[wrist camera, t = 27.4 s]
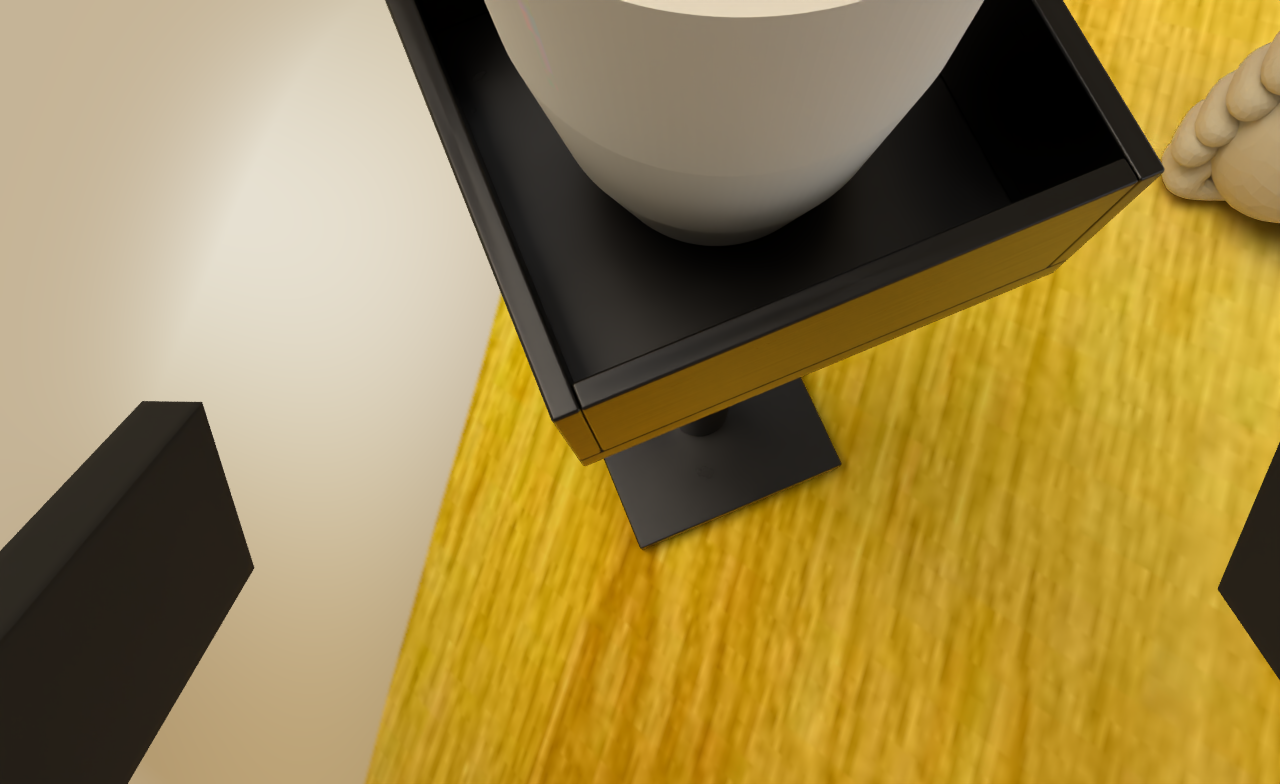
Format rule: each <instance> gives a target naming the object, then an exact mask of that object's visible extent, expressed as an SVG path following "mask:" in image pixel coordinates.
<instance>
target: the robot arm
mask: <svg viewBox="0 0 1280 784" xmlns="http://www.w3.org/2000/svg"><path fill="white" fill-rule="evenodd" d="M253 569H254V565H253V562H252V559H251V556H250V553H249V550H248V547H247V543H246V540H245V537H244V534H243V531H242V528H241V524H240V521H239V518H238V515H237V512H236V508H235V505H234V502H233V499H232V496H231V492H230V489H229V486H228V483H227V480H226V477H225V473H224V470H223V467H222V464H221V461H220V458H219V455H218V451H217V448H216V445H215V442H214V438H213V435H212V432H211V429H210V426H209V423H208V420H207V416H206V413H205V410H204V407H203V404H202V402H159V401H142V402H141V403H140V404H139V405H138V407H136V408H135V410H134V411H133V412H132V413H131V414H130V415H129V416H128V417H127V418H126V419H125V420H124V421H123V422H122V423H121V424H120V425H119V426H118V427H117V428H116V430H115V431H114V432H113V433H112V434H111V435H110V436H109V437H108V438H107V439H106V440H105V441H104V442H103V443H102V444H101V445H100V446H99V447H98V449H97V450H96V451H95V452H94V453H93V454H92V455H91V456H90V457H89V458H88V459H87V460H86V461H85V462H84V463H83V464H82V465H81V466H80V468H79V469H78V470H77V471H76V472H75V473H74V474H73V475H72V476H71V477H70V478H69V479H68V480H67V481H66V482H65V483H64V484H63V485H62V487H61V488H60V489H59V490H58V491H57V492H56V493H55V494H54V495H53V496H52V497H51V498H50V499H49V500H48V501H47V502H46V503H45V504H44V505H43V507H42V508H41V509H40V510H39V511H38V512H37V513H36V514H35V515H34V516H33V517H32V518H31V519H30V520H29V521H28V522H27V523H26V524H25V526H24V527H23V528H22V529H21V530H20V531H19V532H18V533H17V534H16V535H15V536H14V537H13V538H12V539H11V540H10V541H9V542H8V543H7V544H6V545H5V547H4V548H3V549H2V550H1V551H0V784H128V782H129V781H130V779H131V777H132V775H133V774H134V772H135V770H136V768H137V767H138V765H139V764H140V762H141V760H142V758H143V757H144V755H145V753H146V752H147V750H148V748H149V746H150V745H151V743H152V741H153V740H154V738H155V736H156V735H157V733H158V731H159V729H160V728H161V726H162V724H163V723H164V721H165V719H166V717H167V716H168V714H169V712H170V711H171V709H172V707H173V705H174V704H175V702H176V700H177V699H178V697H179V695H180V693H181V692H182V690H183V688H184V687H185V685H186V683H187V682H188V680H189V678H190V677H191V675H192V673H193V672H194V670H195V668H196V666H197V665H198V663H199V661H200V660H201V658H202V656H203V654H204V653H205V651H206V649H207V648H208V646H209V644H210V642H211V641H212V639H213V637H214V636H215V634H216V632H217V631H218V629H219V627H220V625H221V624H222V622H223V620H224V619H225V617H226V615H227V614H228V612H229V610H230V609H231V607H232V605H233V603H234V602H235V600H236V598H237V597H238V595H239V593H240V592H241V590H242V588H243V586H244V584H245V583H246V581H247V580H248V578H249V576H250V574H251V573H252V571H253ZM1218 591H1219V592H1220V593H1221V595H1222V596H1223V598H1224V599H1225V601H1226V602H1227V604H1228V605H1229V607H1230V608H1231V610H1232V611H1233V612H1234V614H1235V615H1236V617H1237V618H1238V620H1239V621H1240V623H1241V624H1242V626H1243V627H1244V629H1245V630H1246V631H1247V633H1248V634H1249V636H1250V637H1251V639H1252V640H1253V642H1254V643H1255V645H1256V646H1257V648H1258V649H1259V650H1260V652H1261V653H1262V655H1263V656H1264V658H1265V659H1266V661H1267V662H1268V664H1269V665H1270V667H1271V668H1272V670H1273V671H1274V672H1275V674H1276V675H1277V677H1278V678H1279V680H1280V443H1279V445H1278V448H1277V450H1276V452H1275V455H1274V457H1273V459H1272V462H1271V464H1270V466H1269V469H1268V471H1267V473H1266V476H1265V478H1264V481H1263V483H1262V485H1261V488H1260V490H1259V492H1258V495H1257V497H1256V499H1255V502H1254V504H1253V506H1252V509H1251V511H1250V514H1249V516H1248V518H1247V521H1246V523H1245V525H1244V528H1243V530H1242V532H1241V535H1240V537H1239V539H1238V542H1237V544H1236V546H1235V549H1234V551H1233V554H1232V556H1231V558H1230V561H1229V563H1228V565H1227V568H1226V570H1225V572H1224V575H1223V577H1222V579H1221V582H1220V584H1219V587H1218Z"/></svg>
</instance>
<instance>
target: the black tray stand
mask: <svg viewBox="0 0 1280 784" xmlns="http://www.w3.org/2000/svg"><path fill="white" fill-rule="evenodd" d="M385 1H386V4H387V6H388V9H389V11H390V14H391V16H392V19H393V21H394V24H395V26H396V29H397V31H398V34H399V37H400V39H401V41H402V44H403V47H404V49H405V52H406V54H407V57H408V59H409V62H410V64H411V67H412V69H413V72H414V74H415V77H416V79H417V82H418V85H419V87H420V89H421V92H422V95H423V97H424V100H425V102H426V105H427V107H428V110H429V112H430V115H431V117H432V120H433V122H434V125H435V127H436V130H437V132H438V135H439V137H440V140H441V143H442V145H443V147H444V150H445V153H446V155H447V158H448V160H449V163H450V165H451V168H452V170H453V173H454V175H455V178H456V180H457V183H458V185H459V188H460V190H461V193H462V195H463V198H464V201H465V203H466V205H467V208H468V211H469V213H470V216H471V218H472V221H473V223H474V226H475V228H476V231H477V233H478V236H479V238H480V241H481V243H482V246H483V248H484V251H485V253H486V256H487V259H488V261H489V264H490V266H491V269H492V271H493V274H494V276H495V279H496V281H497V284H498V286H499V289H500V291H501V294H502V296H503V299H504V301H505V304H506V307H507V309H508V312H509V314H510V317H511V319H512V322H513V324H514V327H515V329H516V332H517V334H518V337H519V339H520V342H521V344H522V347H523V349H524V352H525V354H526V357H527V359H528V362H529V365H530V367H531V370H532V372H533V375H534V377H535V380H536V382H537V385H538V387H539V390H540V392H541V395H542V397H543V400H544V402H545V405H546V407H547V410H548V412H549V415H550V418H551V420H552V421H553V423H554V424H555V426H556V427H557V429H558V430H559V432H560V433H561V434H562V436H563V437H564V439H565V440H566V442H567V443H568V445H569V446H570V447H571V449H572V450H573V452H574V453H575V455H576V456H577V458H578V459H579V460H580V462H581V463H582V465H583V466H587V465H589V464H592V463H594V462H597V461H599V460H601V459H604V460H605V463H606V465H607V468H608V470H609V473H610V475H611V478H612V480H613V483H614V485H615V487H616V490H617V492H618V495H619V497H620V500H621V502H622V505H623V507H624V510H625V512H626V515H627V517H628V519H629V522H630V524H631V527H632V529H633V532H634V534H635V537H636V539H637V542H638V544H639V546H640V548H641V550H643V549H646V548H648V547H650V546H653V545H655V544H657V543H660V542H662V541H665V540H667V539H669V538H672V537H674V536H677V535H679V534H681V533H684V532H686V531H688V530H691V529H693V528H696V527H698V526H700V525H703V524H705V523H707V522H710V521H712V520H715V519H717V518H719V517H722V516H724V515H727V514H729V513H731V512H734V511H736V510H738V509H741V508H743V507H746V506H748V505H750V504H753V503H755V502H758V501H760V500H762V499H765V498H767V497H769V496H772V495H774V494H777V493H779V492H781V491H784V490H786V489H788V488H791V487H793V486H796V485H798V484H800V483H803V482H805V481H808V480H810V479H812V478H815V477H817V476H819V475H822V474H824V473H827V472H829V471H831V470H834V469H836V468H838V467H839V466H840V465H841V461H840V459H839V457H838V455H837V453H836V451H835V449H834V446H833V444H832V442H831V440H830V438H829V436H828V434H827V432H826V429H825V427H824V425H823V423H822V421H821V419H820V417H819V415H818V412H817V410H816V408H815V406H814V404H813V402H812V400H811V398H810V395H809V393H808V391H807V389H806V387H805V385H804V383H803V381H802V378H801V377H802V376H804V375H807V374H809V373H812V372H814V371H816V370H819V369H821V368H824V367H826V366H829V365H831V364H833V363H836V362H838V361H841V360H843V359H845V358H848V357H850V356H853V355H855V354H858V353H860V352H862V351H865V350H867V349H870V348H872V347H874V346H877V345H879V344H882V343H884V342H887V341H889V340H891V339H894V338H896V337H899V336H901V335H903V334H906V333H908V332H911V331H913V330H916V329H918V328H920V327H923V326H925V325H928V324H930V323H932V322H935V321H937V320H940V319H942V318H945V317H947V316H949V315H952V314H954V313H957V312H959V311H961V310H964V309H966V308H969V307H971V306H974V305H976V304H978V303H981V302H983V301H986V300H988V299H990V298H993V297H995V296H998V295H1000V294H1003V293H1005V292H1007V291H1010V290H1012V289H1015V288H1017V287H1019V286H1022V285H1024V284H1027V283H1029V282H1032V281H1034V280H1036V279H1039V278H1041V277H1044V276H1046V275H1048V274H1051V273H1053V272H1054V271H1055V270H1056V269H1057V268H1059V267H1060V266H1061V265H1062V264H1063V263H1064V262H1065V261H1066V260H1067V259H1068V258H1070V257H1071V256H1072V255H1073V254H1074V253H1075V252H1076V251H1077V250H1078V249H1079V248H1081V247H1082V246H1083V245H1084V244H1085V243H1086V242H1087V241H1088V240H1089V239H1090V238H1092V237H1093V236H1094V235H1095V234H1096V233H1097V232H1098V231H1099V230H1100V229H1101V228H1103V227H1104V226H1105V225H1106V224H1107V223H1108V222H1109V221H1110V220H1111V219H1113V218H1114V217H1115V216H1116V215H1117V214H1118V213H1119V212H1120V211H1121V210H1122V209H1124V208H1125V207H1126V206H1127V205H1128V204H1129V203H1130V202H1131V201H1132V200H1133V199H1135V198H1136V197H1137V196H1138V195H1139V194H1140V193H1141V192H1142V191H1143V190H1144V189H1146V188H1147V187H1148V186H1149V185H1150V184H1151V183H1152V182H1153V181H1154V180H1155V179H1157V178H1158V177H1159V176H1160V175H1161V174H1162V173H1163V172H1164V171H1165V169H1164V166H1163V165H1162V163H1161V161H1160V160H1159V158H1158V156H1157V155H1156V153H1155V151H1154V150H1153V148H1152V147H1151V145H1150V143H1149V142H1148V140H1147V138H1146V137H1145V135H1144V133H1143V132H1142V130H1141V128H1140V127H1139V125H1138V123H1137V122H1136V120H1135V119H1134V117H1133V115H1132V114H1131V112H1130V110H1129V109H1128V107H1127V105H1126V104H1125V102H1124V100H1123V99H1122V97H1121V95H1120V94H1119V92H1118V91H1117V89H1116V87H1115V86H1114V84H1113V82H1112V81H1111V79H1110V77H1109V76H1108V74H1107V72H1106V71H1105V69H1104V67H1103V66H1102V64H1101V62H1100V61H1099V59H1098V58H1097V56H1096V54H1095V53H1094V51H1093V49H1092V48H1091V46H1090V44H1089V43H1088V41H1087V39H1086V38H1085V36H1084V34H1083V33H1082V31H1081V30H1080V28H1079V26H1078V25H1077V23H1076V21H1075V20H1074V18H1073V16H1072V15H1071V13H1070V11H1069V10H1068V8H1067V6H1066V5H1065V3H1064V2H1063V0H984V1H983V3H982V5H981V6H980V8H979V10H978V11H977V13H976V15H975V16H974V18H973V20H972V21H971V23H970V25H969V26H968V28H967V30H966V31H965V33H964V35H963V36H962V38H961V40H960V41H959V43H958V45H957V46H956V48H955V50H954V52H953V53H952V55H951V57H950V58H949V60H948V61H947V63H946V65H945V66H944V68H943V69H942V71H941V72H940V74H939V75H938V76H937V78H936V79H935V80H934V82H933V83H932V84H931V85H930V87H929V88H928V89H927V90H926V91H925V92H924V94H923V95H922V96H921V97H920V98H919V100H918V101H917V102H916V103H915V104H914V105H913V107H912V108H911V109H910V110H909V111H908V113H907V114H906V115H905V116H904V117H903V118H902V120H901V121H900V122H899V123H898V124H897V125H896V127H895V128H894V129H893V130H892V131H891V133H890V134H889V135H888V136H887V137H886V138H885V140H884V141H883V142H882V143H881V144H880V146H879V147H878V148H877V149H876V150H875V151H874V153H873V154H872V155H871V156H870V157H869V158H868V160H867V161H866V162H865V163H864V164H863V166H862V167H861V168H860V169H859V170H858V171H857V173H856V174H855V175H854V176H853V177H852V178H851V179H850V180H849V181H848V182H847V183H846V184H845V185H844V186H843V187H842V188H841V189H840V190H838V191H837V192H836V193H835V194H833V195H832V196H831V197H830V198H828V199H827V200H825V201H824V202H822V203H821V204H819V205H818V206H816V207H814V208H813V209H811V210H809V211H808V212H806V213H805V214H803V215H801V216H800V217H798V218H796V219H795V220H793V221H791V222H790V223H788V224H787V225H785V226H783V227H782V228H780V229H778V230H776V231H775V232H773V233H771V234H769V235H766V236H764V237H762V238H759V239H756V240H753V241H749V242H746V243H741V244H736V245H727V246H704V245H696V244H691V243H686V242H682V241H679V240H676V239H673V238H670V237H668V236H666V235H663V234H661V233H659V232H657V231H656V230H654V229H652V228H651V227H649V226H647V225H646V224H645V223H643V222H642V221H641V220H639V219H638V218H637V217H636V216H634V215H633V214H632V213H631V212H629V211H628V210H627V209H625V208H624V207H623V206H622V205H620V204H619V203H618V202H617V201H615V200H614V199H613V198H611V197H610V196H609V195H608V194H606V193H605V192H604V191H603V190H602V189H600V188H599V187H598V186H597V185H596V184H595V183H594V182H593V181H592V180H591V179H590V178H589V177H588V175H587V174H586V173H585V172H584V171H583V170H582V168H581V167H580V166H579V164H578V163H577V161H576V160H575V158H574V157H573V155H572V154H571V152H570V151H569V149H568V148H567V146H566V145H565V143H564V142H563V140H562V138H561V137H560V135H559V134H558V132H557V131H556V129H555V128H554V126H553V125H552V123H551V122H550V120H549V118H548V117H547V115H546V114H545V112H544V111H543V109H542V108H541V106H540V105H539V103H538V102H537V100H536V98H535V97H534V95H533V94H532V92H531V91H530V89H529V88H528V86H527V85H526V83H525V81H524V80H523V78H522V77H521V75H520V74H519V72H518V71H517V69H516V67H515V66H514V64H513V62H512V61H511V59H510V57H509V55H508V53H507V51H506V49H505V47H504V45H503V43H502V41H501V38H500V36H499V34H498V31H497V29H496V27H495V24H494V22H493V20H492V17H491V15H490V13H489V11H488V8H487V6H486V4H485V1H484V0H385Z"/></svg>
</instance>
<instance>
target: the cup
mask: <svg viewBox="0 0 1280 784" xmlns="http://www.w3.org/2000/svg"><path fill="white" fill-rule="evenodd" d="M484 1H485V4H486V6H487V8H488V11H489V13H490V15H491V17H492V20H493V22H494V24H495V27H496V29H497V31H498V34H499V36H500V38H501V41H502V43H503V45H504V47H505V49H506V51H507V53H508V55H509V57H510V59H511V61H512V62H513V64H514V66H515V67H516V69H517V71H518V72H519V74H520V75H521V77H522V78H523V80H524V81H525V83H526V85H527V86H528V88H529V89H530V91H531V92H532V94H533V95H534V97H535V98H536V100H537V102H538V103H539V105H540V106H541V108H542V109H543V111H544V112H545V114H546V115H547V117H548V118H549V120H550V122H551V123H552V125H553V126H554V128H555V129H556V131H557V132H558V134H559V135H560V137H561V138H562V140H563V142H564V143H565V145H566V146H567V148H568V149H569V151H570V152H571V154H572V155H573V157H574V158H575V160H576V161H577V163H578V164H579V166H580V167H581V168H582V170H583V171H584V172H585V173H586V174H587V175H588V177H589V178H590V179H591V180H592V181H593V182H594V183H595V184H596V185H597V186H598V187H599V188H600V189H602V190H603V191H604V192H605V193H606V194H608V195H609V196H610V197H611V198H613V199H614V200H615V201H617V202H618V203H619V204H620V205H622V206H623V207H624V208H625V209H627V210H628V211H629V212H631V213H632V214H633V215H634V216H636V217H637V218H638V219H639V220H641V221H642V222H643V223H645V224H646V225H647V226H649V227H651V228H652V229H654V230H656V231H657V232H659V233H661V234H663V235H666V236H668V237H670V238H673V239H676V240H679V241H682V242H686V243H691V244H696V245H704V246H727V245H736V244H741V243H746V242H749V241H753V240H756V239H759V238H762V237H764V236H766V235H769V234H771V233H773V232H775V231H776V230H778V229H780V228H782V227H783V226H785V225H787V224H788V223H790V222H791V221H793V220H795V219H796V218H798V217H800V216H801V215H803V214H805V213H806V212H808V211H809V210H811V209H813V208H814V207H816V206H818V205H819V204H821V203H822V202H824V201H825V200H827V199H828V198H830V197H831V196H832V195H833V194H835V193H836V192H837V191H838V190H840V189H841V188H842V187H843V186H844V185H845V184H846V183H847V182H848V181H849V180H850V179H851V178H852V177H853V176H854V175H855V174H856V173H857V171H858V170H859V169H860V168H861V167H862V166H863V164H864V163H865V162H866V161H867V160H868V158H869V157H870V156H871V155H872V154H873V153H874V151H875V150H876V149H877V148H878V147H879V146H880V144H881V143H882V142H883V141H884V140H885V138H886V137H887V136H888V135H889V134H890V133H891V131H892V130H893V129H894V128H895V127H896V125H897V124H898V123H899V122H900V121H901V120H902V118H903V117H904V116H905V115H906V114H907V113H908V111H909V110H910V109H911V108H912V107H913V105H914V104H915V103H916V102H917V101H918V100H919V98H920V97H921V96H922V95H923V94H924V92H925V91H926V90H927V89H928V88H929V87H930V85H931V84H932V83H933V82H934V80H935V79H936V78H937V76H938V75H939V74H940V72H941V71H942V69H943V68H944V66H945V65H946V63H947V61H948V60H949V58H950V57H951V55H952V53H953V52H954V50H955V48H956V46H957V45H958V43H959V41H960V40H961V38H962V36H963V35H964V33H965V31H966V30H967V28H968V26H969V25H970V23H971V21H972V20H973V18H974V16H975V15H976V13H977V11H978V10H979V8H980V6H981V5H982V3H983V1H984V0H484Z"/></svg>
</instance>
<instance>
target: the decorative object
mask: <svg viewBox="0 0 1280 784" xmlns="http://www.w3.org/2000/svg"><path fill="white" fill-rule="evenodd" d="M1162 165H1163V166H1164V169H1165V171H1164V172H1163V173H1162V178H1163V182H1164V184H1165V186H1166V188H1167V190H1169V191H1170V192H1171V193H1173V194H1174V195H1176V196H1179V197H1182V198H1186V199H1192V200H1220V201H1226V202H1227V203H1228V204H1229V205H1230V206H1231V207H1232V208H1234V209H1236V210H1237V211H1239V212H1241V213H1242V214H1245V215H1247V216H1249V217H1251V218H1254V219H1257V220H1261V221H1267V222H1275V223H1280V31H1279V32H1278V33H1277V35H1276V36H1275V38H1274V40H1273V42H1271V43H1268V44H1266V45H1264V46H1262V47H1260V48H1258V49H1256V50H1255V51H1253V52H1252V53H1250V54H1249V55H1248V56H1247V57H1246V58H1245V60H1244V61H1243V62H1242V63H1241V64H1240V65H1239V67H1238V69H1236V70H1235V71H1233V72H1231V73H1229V74H1227V75H1226V76H1224V77H1223V78H1221V79H1220V80H1219V81H1218V82H1217V83H1216V84H1215V85H1214V86H1213V87H1212V89H1211V90H1210V92H1209V93H1208V95H1207V97H1206V98H1205V99H1204V100H1201V101H1200V102H1198V103H1197V104H1196V105H1195V106H1194V107H1192V108H1191V109H1190V110H1189V112H1188V113H1187V114H1186V116H1185V117H1184V119H1183V120H1182V122H1181V123H1180V125H1179V127H1178V128H1177V130H1176V132H1175V134H1174V136H1173V139H1172V142H1171V143H1170V144H1169V145H1168V146H1167V148H1166V149H1165V151H1164V152H1163V155H1162Z"/></svg>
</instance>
